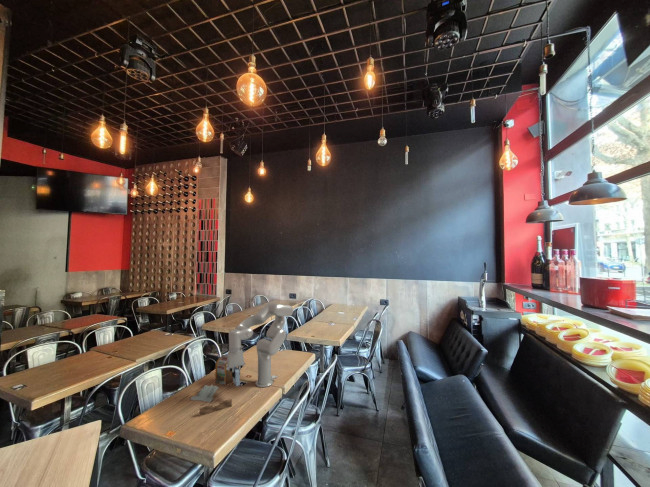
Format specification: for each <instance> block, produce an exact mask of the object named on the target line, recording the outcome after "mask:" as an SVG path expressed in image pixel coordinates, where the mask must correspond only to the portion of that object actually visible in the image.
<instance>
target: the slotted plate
mask: <svg viewBox="0 0 650 487" xmlns="http://www.w3.org/2000/svg"><path fill="white" fill-rule="evenodd" d="M234 372H235V378H234V377H233V381H234V382H233V383H234V384H235V386H236V387H239V386H240V385H241V377H240V376H241V370H240V371H239V370H238V366H237V367H234Z"/></svg>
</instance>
